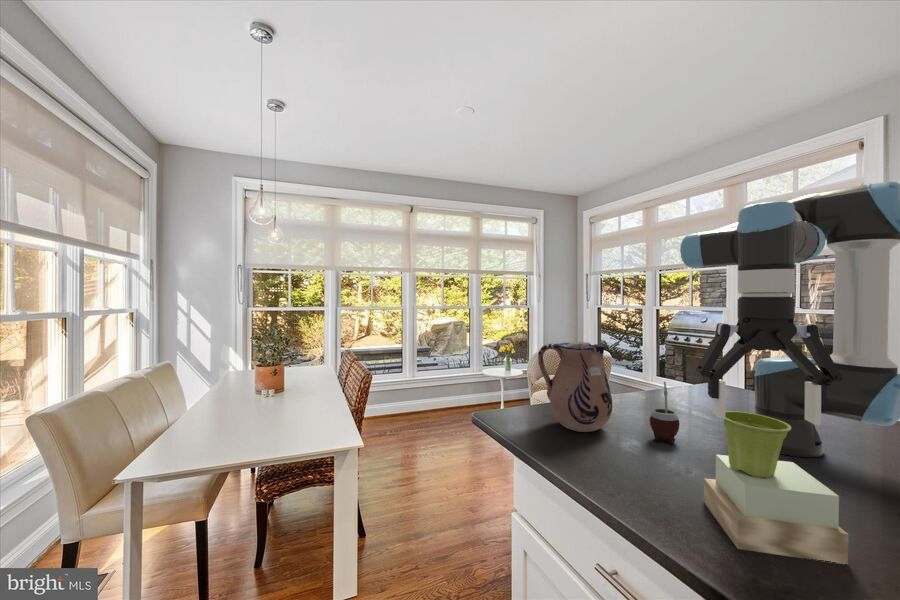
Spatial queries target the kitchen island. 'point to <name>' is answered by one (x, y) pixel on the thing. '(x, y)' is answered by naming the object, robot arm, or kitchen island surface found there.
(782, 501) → the upper block
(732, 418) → the plant pot
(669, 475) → the kitchen island surface
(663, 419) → the mate gourd
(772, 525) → the lower block
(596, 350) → the ceramic pitcher
